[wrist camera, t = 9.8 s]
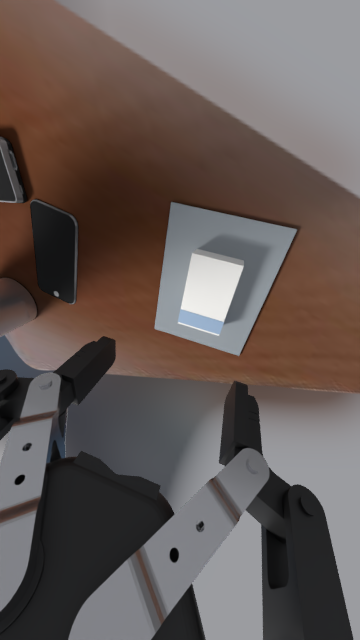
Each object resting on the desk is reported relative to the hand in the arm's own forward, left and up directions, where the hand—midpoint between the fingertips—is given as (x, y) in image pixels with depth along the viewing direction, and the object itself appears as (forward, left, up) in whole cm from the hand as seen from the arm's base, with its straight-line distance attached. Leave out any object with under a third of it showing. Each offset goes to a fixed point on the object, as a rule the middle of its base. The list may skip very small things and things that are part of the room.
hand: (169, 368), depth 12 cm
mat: (0, 0, -16) cm, 16 cm away
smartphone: (-25, -2, -17) cm, 30 cm away
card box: (0, 0, -16) cm, 16 cm away
